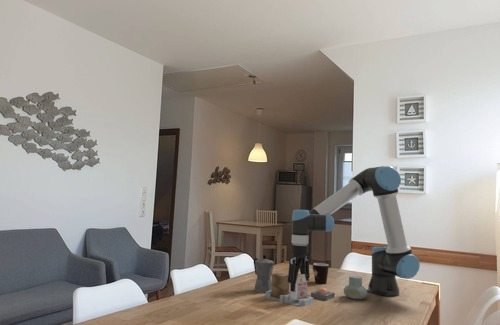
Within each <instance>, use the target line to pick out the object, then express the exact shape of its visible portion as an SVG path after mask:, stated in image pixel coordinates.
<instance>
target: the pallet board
mask: <svg viewBox="0 0 500 325" xmlns="http://www.w3.org/2000/svg"><path fill="white" fill-rule="evenodd" d="M263 298H264V299H268V300H273V301H276V302H280V303H285V304H288V305H291V306H297V307H300V308H304V307H307V306H309V305H311V304H314V303H316V302H317V301H316V300H314V298H313V297H311V295H310V296H308V295H307V298H303V299H297V300H295V299H291V298H290V291H289V294H288V295H285V296H284V295H280V298H276V297H272V296H271V290H270V291H266V293H265V295H264V296H263Z"/></svg>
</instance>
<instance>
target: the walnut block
mask: <svg viewBox="0 0 500 325" xmlns="http://www.w3.org/2000/svg"><path fill="white" fill-rule="evenodd" d="M271 283H272V287H271V296H272V297H276V298H280V295H284V296H285V295H288V294H289V292H290V283H289V282H288V274H284V273H279V272H275V273H272V276H271Z"/></svg>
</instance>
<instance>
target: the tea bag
mask: <svg viewBox="0 0 500 325" xmlns="http://www.w3.org/2000/svg"><path fill="white" fill-rule="evenodd" d="M296 284H297V299H307V297H308V281H306V278H305V274H301V273H298V276H297V281H296ZM289 292H290V296H291V283H289ZM297 299H296V300H297Z"/></svg>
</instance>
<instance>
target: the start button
mask: <svg viewBox="0 0 500 325" xmlns="http://www.w3.org/2000/svg"><path fill="white" fill-rule="evenodd" d="M318 290H319V291H318V293H320V294H327V291H328V288H325V287H319V288H318Z"/></svg>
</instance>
